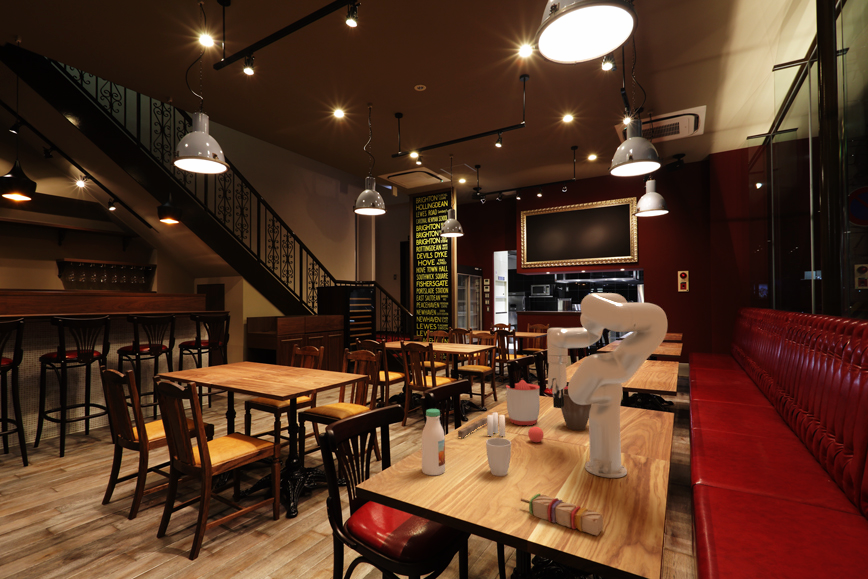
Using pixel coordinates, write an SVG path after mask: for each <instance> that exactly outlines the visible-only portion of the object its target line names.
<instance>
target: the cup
mask: <svg viewBox="0 0 868 579" xmlns="http://www.w3.org/2000/svg"><path fill="white" fill-rule="evenodd" d="M485 446H486V456H487V462H488V467H489V469H490V473H491V475H492V476H497V477H504V476H507V474H508V472H509V469H510V462H511V454H512V452H511V451H512V441H511V440H510V439H508V438H504V437H490V438H489V439H486V441H485Z"/></svg>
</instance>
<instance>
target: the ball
mask: <svg viewBox="0 0 868 579" xmlns="http://www.w3.org/2000/svg"><path fill="white" fill-rule="evenodd" d="M527 435H528V438H529V440H530V441H531V442H533V443H541V441H543V439H544V435H545V434H544V430H542V428H540V427H539V426H532V427H531V428H529V430H528V433H527Z"/></svg>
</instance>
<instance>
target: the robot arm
mask: <svg viewBox="0 0 868 579" xmlns="http://www.w3.org/2000/svg"><path fill="white" fill-rule="evenodd" d="M580 312H581V314H580V324H581V325H582V327H550V328H548V329H547V333H546V336H547V338H546V339H547V340H546V341H547V345H546V346H547V364H548V371H547V372H548V374H547V388H548V390H551V393H552V402H553V407H552V408H555V409H561V408H562V407H564V389H565V388H566V387H567V389H568V394H569V397H570V398H571V400H572V401H573V402H575V403H577V404H580V405H588V404H592V406H591V408H590V412H589V419H588V437H589V440H588V441H589V461H587V462H585V464H584V467H585V468H584V469H585V470H586V471H587V472H588V473H590V474H592V475H595V476H599V477H602V478H609V479H610V478H611V479H616V478H623V477H625V476H627V473H628V470H627V468H626V467H625V466H624V465H623V464H622V450H621V448H622V447H621V446H622V445H621V441H622V440H621V402H622V398H623V383H626V382H628V381H630V380H631V378H633V377H634V375H635V374H636V372H638V371H639V369H640V368H641V367H642V366H643V365H644V364H645V361H647V359H648V358H649V357H650V356H651V355H652V354H653V353H654V352H655V351H656V350H657V349H658V348H659V347H660V345H661V344H662V343H663V341H664V339H665V338H666V335H667V332H668V319H667V315H666V312H665V311H664V310H663V308H661V307H660V306H659V305H657V304H654V303H650V302H628V301H627V300H626V298H625V297H624V296H622V295H621V294H619V293H612V292H608V293H607V292H592V293H589V294H587V295H586V296H584V298H583V299H581V302H580ZM604 329H606V330H608V331H611V332H617V333H619V332H620V333H625V332H629V333H630V332H631V333H630V334H629V335H627V336H626V337H625V338H623V339H622V340H621V341H620V342H619V344H618V345H617V346H616V348H615V349H613V350H612V351H610V352H606V353H594V354H591V355H588V356H587V357H585V358H584V359H583V360H582V362H581V363H580V365H579V366H578V367H577V369H576V370H575V372H573V375H572V376H571V377H570V379H569V381H568V382H567V380H568V378H567V377H568V375H567V365H568V363H569V358H568V356H569V355H568V352H569V351H568V349H580V348H581V349H582V348H583V349H584V348H588V347H590V346H592V345H594V344H595V343H597V342H598V341H599V340H601V337H602V335H603V332H604ZM567 385H568V386H567Z"/></svg>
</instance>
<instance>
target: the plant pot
mask: <svg viewBox="0 0 868 579" xmlns="http://www.w3.org/2000/svg"><path fill="white" fill-rule="evenodd" d="M591 406H592V404H588V405H580V404H577V403H575V402H573V401H572V400H571V398H570V397H569V394H568V388H564V407H562V408H560V410H561V414H562V416H563V419H564V422H565V424H566V427H567V429H568V430H570V429H571V431H575V430H576V432H577V431H579V432H580V431H581V432H582V431H584V430H586V427H587V425H588V423H589V412H590V408H591Z"/></svg>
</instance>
